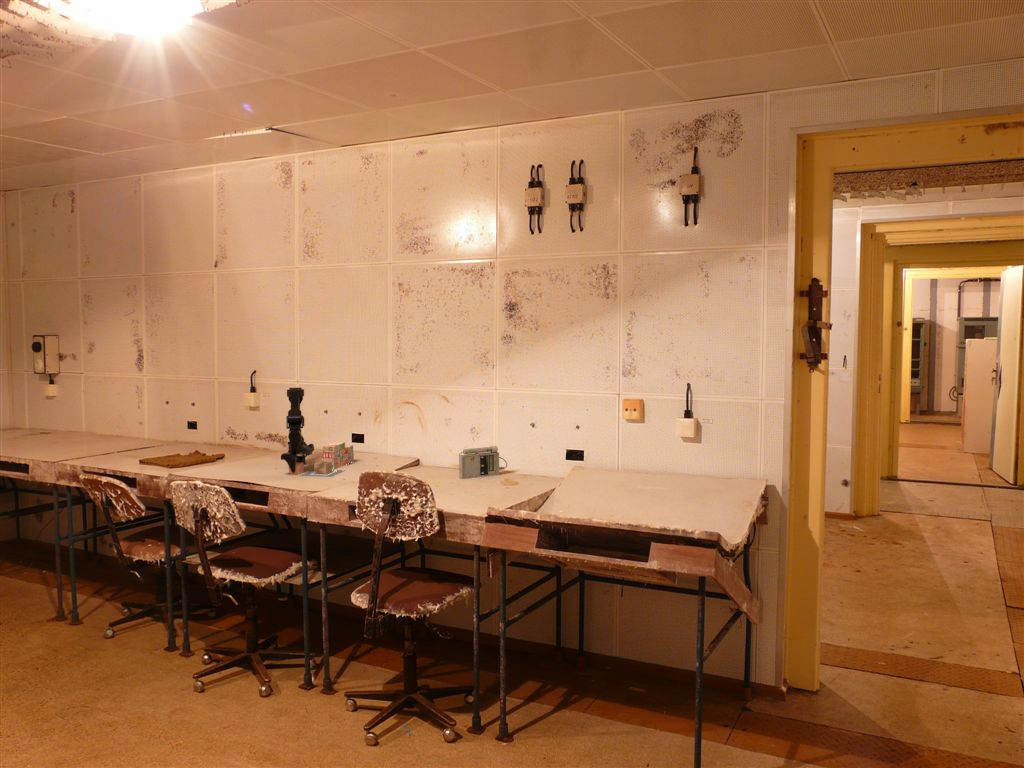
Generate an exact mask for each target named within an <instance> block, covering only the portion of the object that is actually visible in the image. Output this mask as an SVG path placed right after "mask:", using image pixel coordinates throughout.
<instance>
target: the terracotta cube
mask: <svg viewBox="0 0 1024 768" xmlns="http://www.w3.org/2000/svg"><path fill="white" fill-rule="evenodd" d="M304 465H305V464H304ZM304 465H303V463H300V462H296V466H295V473H293V472H292V471H291V469H290V467H289V466H288V474H291V475H301V474H303V473H304V471H305V470H304Z"/></svg>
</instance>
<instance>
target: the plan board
mask: <svg viewBox="0 0 1024 768" xmlns="http://www.w3.org/2000/svg"><path fill="white" fill-rule="evenodd" d="M332 470H333V471H332V472H331V473H328V474H315V471H314V469H313V470H310V471H308V472H306V473H304V474H303V473H302V474H299V476H300V477H317V478H318V477H321V478H322V477H323V478H333V477H334V476H337V475H340V474H342V473H343V472H346V471H347V470H344V471H342V470H343V469H342V470H341V469H336V470H337V472H336V471H334V470H335V469H332Z"/></svg>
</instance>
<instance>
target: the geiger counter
mask: <svg viewBox="0 0 1024 768" xmlns="http://www.w3.org/2000/svg"><path fill="white" fill-rule="evenodd" d="M498 448H499V447H498V446H497V445H491V446H487V447H486V446H485V447H475V448H465V449H464V448H463V450H462V451H461V452H460V453H459V454H458V471H459V472H458V473H459V475H458V477H459V479H461V480H466V479H467V480H468V479H474V478H475V479H476V478H483V477H493V476H500V470H506V468H507V467H508V462H507V461H506V460H505V459H504V457H500V452H499V451H498ZM462 453H463V454H462ZM500 459H501V460H503V461H504V462H505V466H500Z"/></svg>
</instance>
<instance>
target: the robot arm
mask: <svg viewBox="0 0 1024 768" xmlns="http://www.w3.org/2000/svg"><path fill="white" fill-rule="evenodd" d="M286 397H287V398H288V402H289V403H290V409H289V410H288V411H287V415H286V419H285V420H286V426H285V427H286V430H288V436H287V437H288V441H287V446H288V447H287V448H288V449H287V452H283V453H281V454H280V460H281V461H285V462H286V464H287V466H288V468H289V467H290V469H291V471H292V472H293V473H295V466H296V462H300V463H303V465H306V464H307V463H306V462H307V461H306V457H309V456H310V455H313V452H314V451H315V445H314V444H313V443H309V444H307V443H306V441H305V438H304V436H303V434H302V429H303V428H304V427H305V416H303V415H302V410H301V405H302V403H303V400H304V397H305V389H302V387H289V389H286Z"/></svg>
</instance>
